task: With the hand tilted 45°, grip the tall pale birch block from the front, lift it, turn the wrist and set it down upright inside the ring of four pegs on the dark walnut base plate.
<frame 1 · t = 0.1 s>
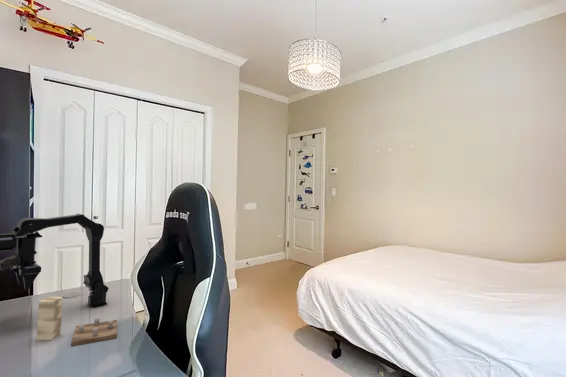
hand: (23, 287, 120), 14 cm above the table, tool pointing down, fingers open, 9 cm apart
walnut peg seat: (95, 333, 113), on the table
birch block: (48, 336, 109), on the table
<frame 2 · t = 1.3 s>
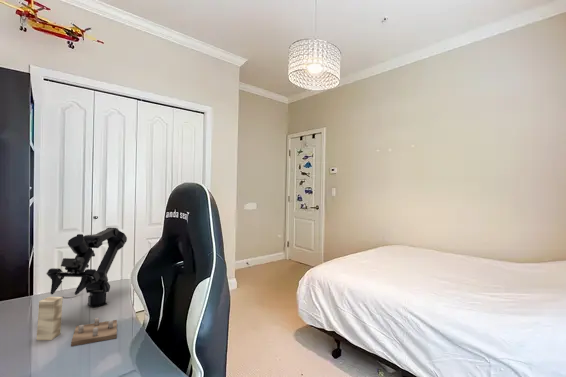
hand: (63, 294, 117), 13 cm above the table, tool tilted 45°, fingers open, 9 cm apart
nothing on the table moved.
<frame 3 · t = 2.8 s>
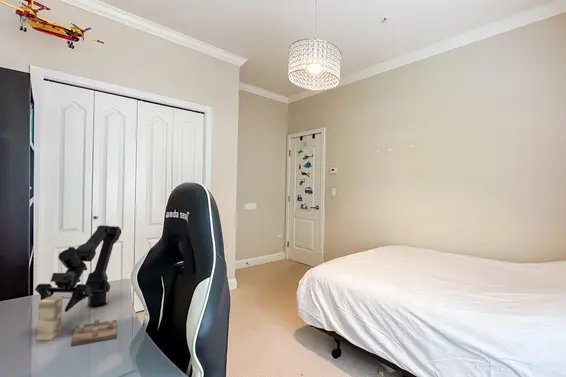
hand: (52, 311, 111), 9 cm above the table, tool tilted 45°, fingers open, 9 cm apart
nothing on the table moved.
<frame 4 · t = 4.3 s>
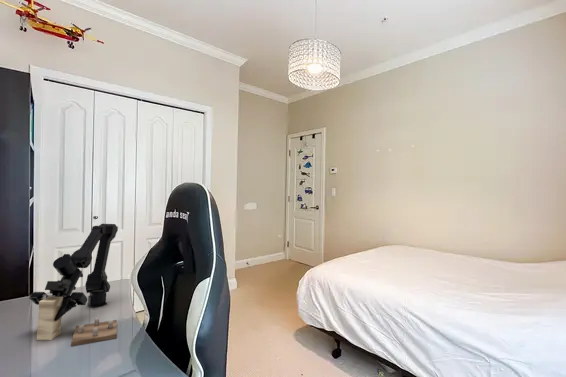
hand: (47, 320, 108), 7 cm above the table, tool tilted 45°, fingers closed on birch block, 5 cm apart
birch block: (48, 336, 109), on the table, touching gripper
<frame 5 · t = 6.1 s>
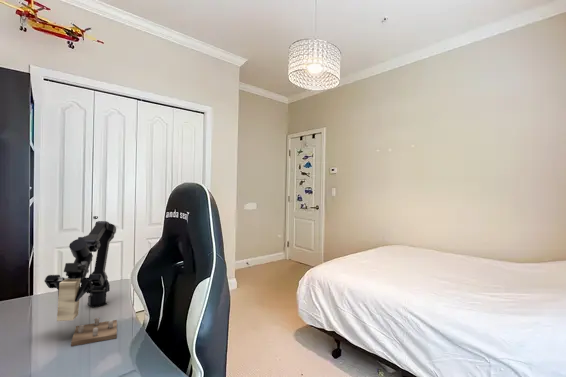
hand: (67, 301, 109), 14 cm above the table, tool tilted 45°, fingers closed on birch block, 5 cm apart
birch block: (67, 318, 110), point 7 cm above the table, touching gripper
when the fingers open (9 cm above the table, at t = 8.2 s): birch block stays where it is, resting on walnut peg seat.
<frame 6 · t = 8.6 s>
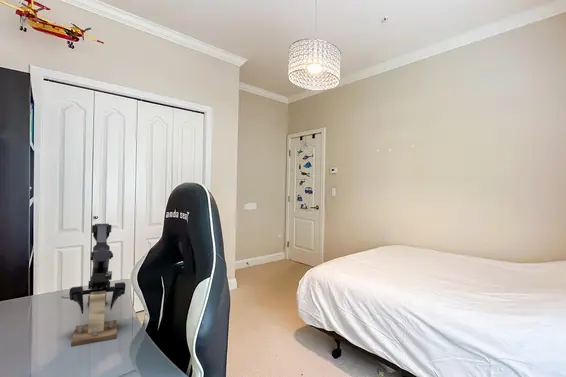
hand: (96, 311, 112), 9 cm above the table, tool tilted 45°, fingers open, 9 cm apart
birch block: (96, 329, 113), point 2 cm above the table, touching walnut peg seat
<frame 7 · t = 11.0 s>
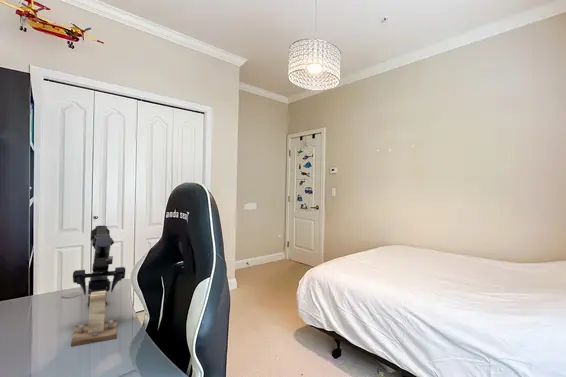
hand: (98, 293, 119), 14 cm above the table, tool tilted 45°, fingers open, 9 cm apart
nothing on the table moved.
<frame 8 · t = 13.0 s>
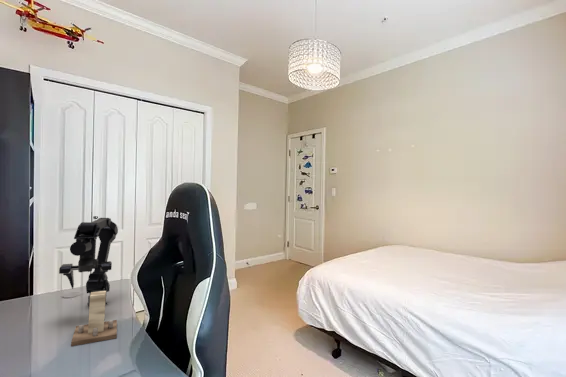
hand: (85, 287, 128), 13 cm above the table, tool pointing down, fingers open, 9 cm apart
nothing on the table moved.
at the end: birch block 0.1 cm off-centre on the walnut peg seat, point 1.5 cm above the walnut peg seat's base; birch block tilted 0°; the gripper is holding nothing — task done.
